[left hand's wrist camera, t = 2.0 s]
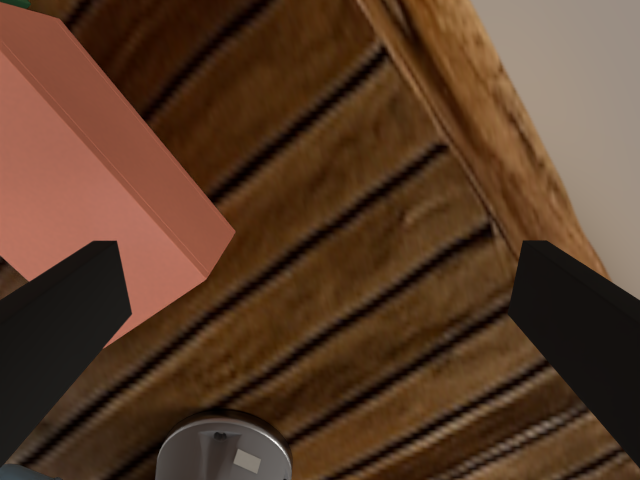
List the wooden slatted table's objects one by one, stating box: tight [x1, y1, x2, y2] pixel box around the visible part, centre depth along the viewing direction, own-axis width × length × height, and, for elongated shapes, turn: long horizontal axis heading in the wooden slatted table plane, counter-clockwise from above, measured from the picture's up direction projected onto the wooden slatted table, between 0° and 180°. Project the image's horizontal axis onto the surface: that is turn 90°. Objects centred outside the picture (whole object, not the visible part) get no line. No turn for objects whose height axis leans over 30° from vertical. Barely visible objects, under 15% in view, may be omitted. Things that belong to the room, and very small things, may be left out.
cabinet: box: [0, 2, 236, 348], centre depth 28 cm, size 21×10×9 cm, turn 35°
